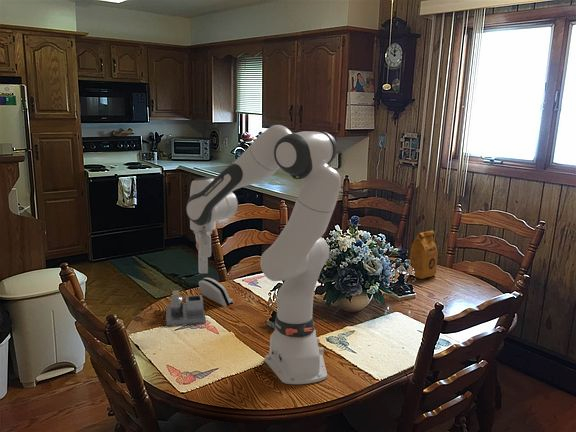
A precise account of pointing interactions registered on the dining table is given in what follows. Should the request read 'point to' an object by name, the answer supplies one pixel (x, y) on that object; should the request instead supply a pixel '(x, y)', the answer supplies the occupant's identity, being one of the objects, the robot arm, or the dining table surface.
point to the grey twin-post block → (185, 310)
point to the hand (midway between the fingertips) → (203, 261)
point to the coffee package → (424, 255)
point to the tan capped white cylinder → (201, 267)
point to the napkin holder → (214, 291)
